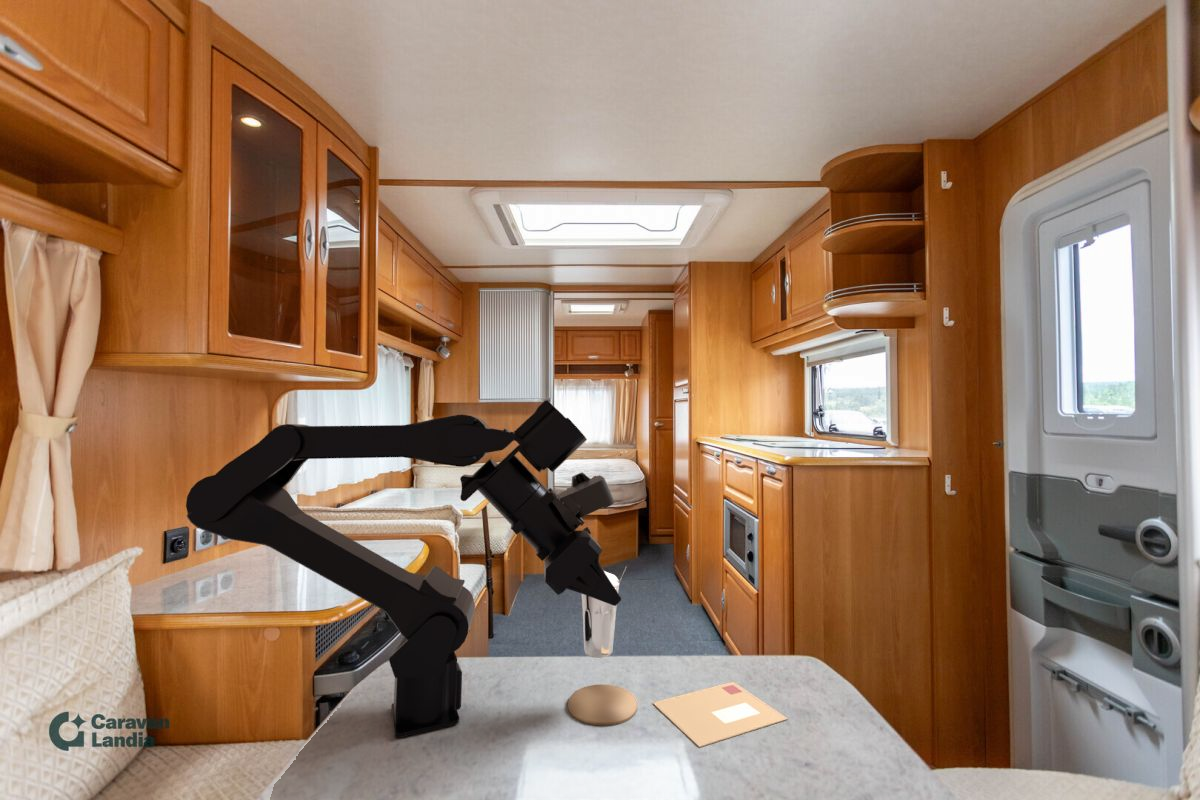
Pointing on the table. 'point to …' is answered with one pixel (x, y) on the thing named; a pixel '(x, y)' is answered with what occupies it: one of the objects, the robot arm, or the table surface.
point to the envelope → (718, 713)
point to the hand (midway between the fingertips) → (614, 595)
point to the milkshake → (599, 623)
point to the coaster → (602, 705)
